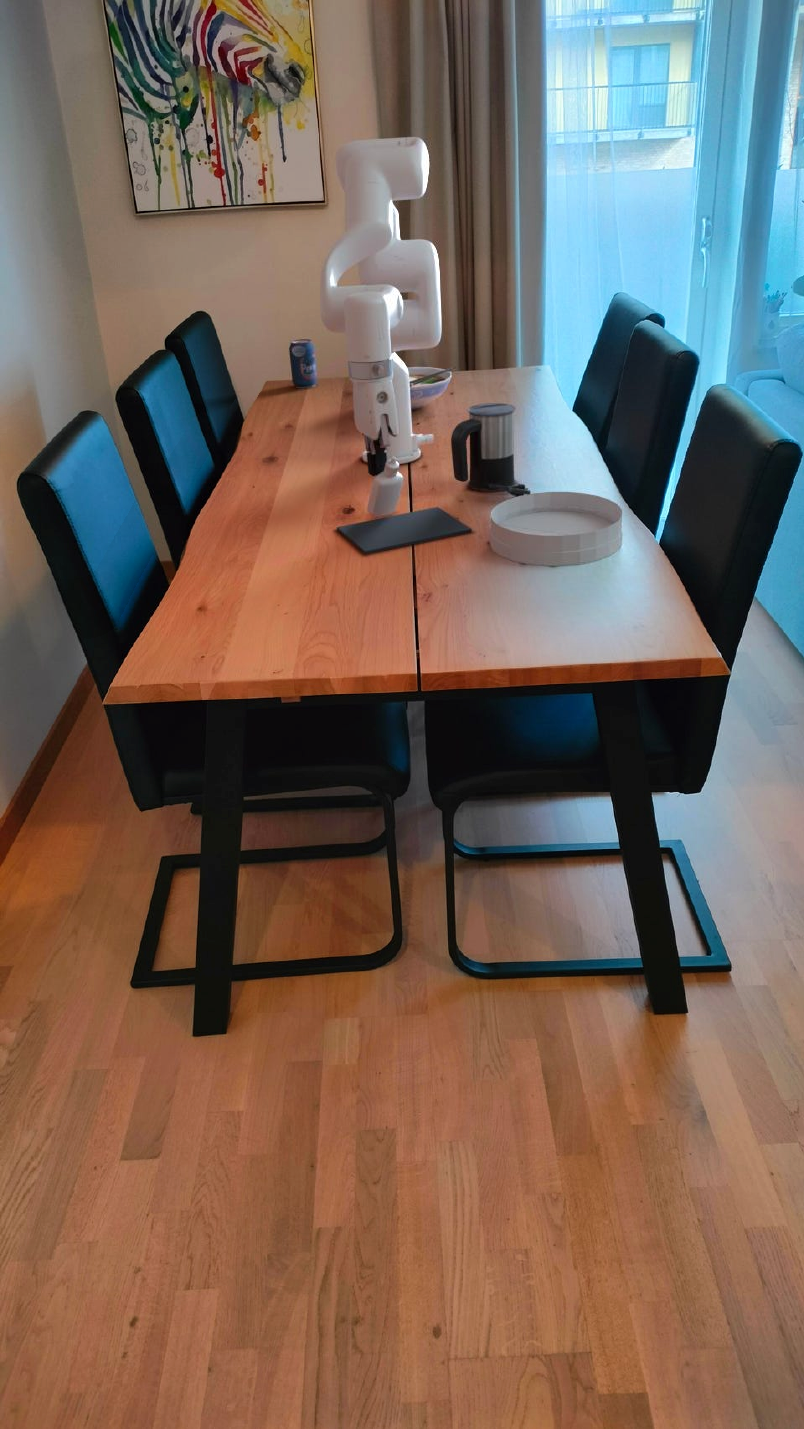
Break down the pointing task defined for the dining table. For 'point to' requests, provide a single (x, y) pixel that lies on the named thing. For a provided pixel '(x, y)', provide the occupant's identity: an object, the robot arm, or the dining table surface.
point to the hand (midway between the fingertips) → (378, 473)
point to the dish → (556, 528)
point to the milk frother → (487, 449)
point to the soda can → (303, 363)
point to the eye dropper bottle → (386, 490)
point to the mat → (403, 530)
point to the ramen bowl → (427, 384)
